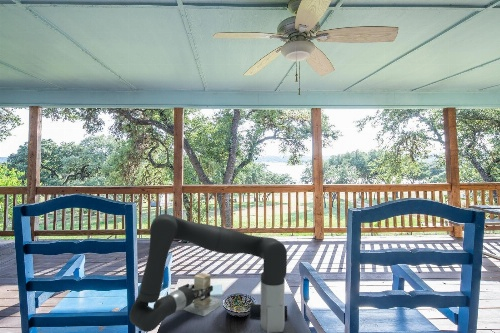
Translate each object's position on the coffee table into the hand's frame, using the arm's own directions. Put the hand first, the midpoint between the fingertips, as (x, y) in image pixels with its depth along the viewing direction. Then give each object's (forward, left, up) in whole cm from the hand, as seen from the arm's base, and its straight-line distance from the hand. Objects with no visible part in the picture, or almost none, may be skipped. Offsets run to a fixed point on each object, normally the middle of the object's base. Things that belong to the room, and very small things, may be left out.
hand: (205, 286), depth 128 cm
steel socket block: (-2, +1, -9) cm, 9 cm away
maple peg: (-2, +1, -9) cm, 9 cm away
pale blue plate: (+15, -3, -9) cm, 18 cm away
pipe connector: (-11, -27, -9) cm, 30 cm away
